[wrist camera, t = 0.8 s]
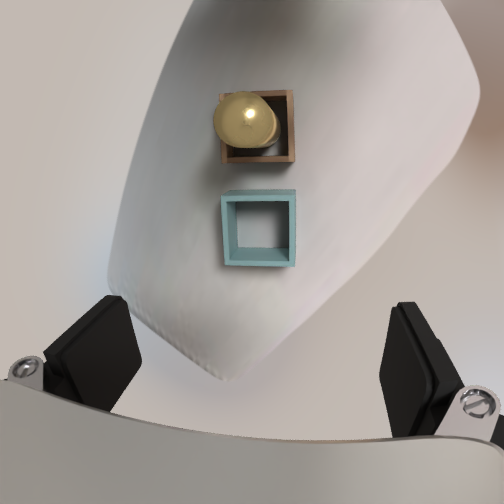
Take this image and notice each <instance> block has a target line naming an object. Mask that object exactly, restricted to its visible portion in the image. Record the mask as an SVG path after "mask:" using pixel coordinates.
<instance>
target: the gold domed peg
mask: <svg viewBox="0 0 504 504" xmlns="http://www.w3.org/2000/svg"><path fill="white" fill-rule="evenodd" d="M213 122H214V128H215V130H216V133H217V134H218V136H219V137H220V138H221V139H222V140H223V141H224V142H225V143H227V144H228V145H231V146H233V147H238V148H266V147H269V146H271V145H272V144H274V143H275V142H276V141H277V139H278V138H279V136H280V132H281V125H280V121H279V119H278V118H277V116H276V115H275V114H274V112H273V111H272V110H271V108H270V107H269V106H268V104H267V103H266V102H265V101H264V100H263V99H262V98H261V97H260V96H258V95H256V94H254V93H251V92H245V91H241V92H235V93H232V94H230V95H228V96H226V97H225V98H224V99H223V100H222V101H221V102H220V103H219V104H218V106H217V108H216V110H215V113H214V120H213Z"/></svg>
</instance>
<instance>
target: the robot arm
mask: <svg viewBox="0 0 504 504" xmlns="http://www.w3.org/2000/svg"><path fill="white" fill-rule="evenodd" d="M43 353H44V355H45V357H46V360H47V361H46V362H45V363H43V360H42V359H41V358H39V357H37V356H27V357H24V358H21V359H19V360H18V361H16V362H15V363H14V364H13V365H12V366H11V367H10V369H9V373H8V379H4V380H0V504H504V416H503V415H500V414H499V413H500V407H501V404H500V400H499V399H498V397H497V395H496V394H495V393H494V392H492V391H491V390H490V389H488V388H486V387H482V386H478V385H470V386H467V387H465V386H464V384H463V382H462V380H461V378H460V376H459V374H458V372H457V371H456V369H455V367H454V365H453V363H452V361H451V359H450V358H449V356H448V354H447V352H446V350H445V349H444V347H443V345H442V343H441V342H440V340H439V339H437V338H436V336H435V335H434V333H433V331H432V330H431V328H430V326H429V324H428V323H427V321H426V319H425V318H424V316H423V314H422V313H421V311H420V309H419V308H418V306H417V304H416V303H415V302H399V303H398V304H397V307H392V310H391V315H390V321H389V327H388V332H387V338H386V343H385V348H384V353H383V357H382V362H381V367H380V372H379V377H380V383H381V387H382V391H383V395H384V400H385V404H386V408H387V413H388V417H389V422H390V427H391V432H392V436H393V438H381V439H363V440H317V441H314V440H311V441H309V440H281V439H263V438H252V437H241V436H231V435H223V434H215V433H208V432H201V431H194V430H188V429H183V428H177V427H171V426H166V425H161V424H157V423H152V422H147V421H143V420H138V419H134V418H130V417H126V416H122V415H118V414H115V413H111V412H110V411H111V410H112V408H113V407H114V405H115V404H116V402H117V401H118V399H119V398H120V396H121V395H122V393H123V391H124V390H125V389H126V387H127V386H128V385H129V383H130V382H131V380H132V379H133V377H134V376H135V374H136V373H137V371H138V370H139V368H140V367H141V364H142V358H141V354H140V351H139V347H138V344H137V340H136V336H135V333H134V329H133V325H132V321H131V317H130V313H129V309H128V305H127V302H126V301H125V300H123V298H122V297H121V296H113V295H107V296H105V297H104V298H103V299H101V300H100V301H99V302H98V303H97V304H96V305H95V306H93V307H92V308H91V309H90V310H89V311H88V312H87V313H85V314H84V315H83V316H82V317H81V318H80V319H79V320H78V321H76V322H75V323H74V324H73V325H72V326H71V327H70V328H69V329H68V330H66V331H65V332H64V333H63V334H62V335H61V336H60V337H59V338H58V339H56V340H55V341H54V342H53V343H52V344H51V345H50V346H49V347H48V348H47V349H46V350H45V351H44V352H43Z"/></svg>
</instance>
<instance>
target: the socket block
mask: <svg viewBox="0 0 504 504" xmlns="http://www.w3.org/2000/svg"><path fill="white" fill-rule="evenodd" d="M251 93H254V94H256V95H258V96H260V97H261V98H262V99H263V100H264V101H284V100H287V116H288V147H289V156H246V157H234V154H233V146H231V145H228V144H227V143H225V142H224V141H223V140H222V139H221V159H222V164H223V163H248V162H295V137H294V108H293V93H292V90H273V91H252V92H251ZM230 94H232V93H225V94H219V103H220V102H221V101H222V100H223V99H224V98H225V97H226V96H228V95H230Z"/></svg>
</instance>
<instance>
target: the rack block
mask: <svg viewBox="0 0 504 504" xmlns="http://www.w3.org/2000/svg"><path fill="white" fill-rule="evenodd" d="M236 201H289V248H238V242H237V222H236ZM221 213H222V230H223V246H224V261H225V265H237V266H285V267H295V255H296V190H230V191H228V192H227V193H225V194H223V195H222V196H221Z"/></svg>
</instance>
